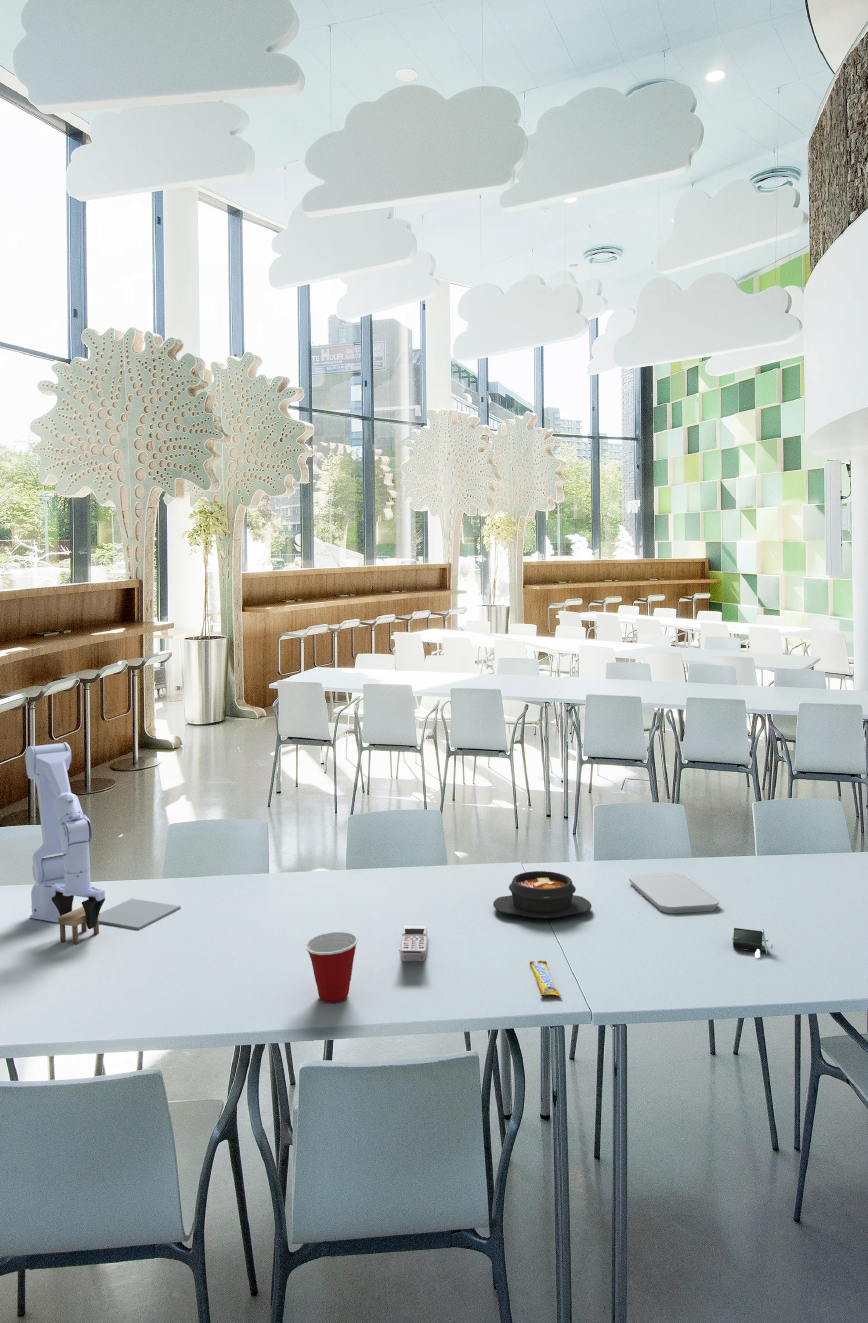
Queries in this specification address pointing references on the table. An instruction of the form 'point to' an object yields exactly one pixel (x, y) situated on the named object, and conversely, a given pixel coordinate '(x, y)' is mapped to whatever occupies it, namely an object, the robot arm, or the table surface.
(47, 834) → the robot arm
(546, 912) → the casserole
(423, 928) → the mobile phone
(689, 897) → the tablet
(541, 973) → the candy bar
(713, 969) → the table surface
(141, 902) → the mat
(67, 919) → the stool
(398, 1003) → the table surface
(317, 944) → the plastic cup
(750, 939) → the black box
